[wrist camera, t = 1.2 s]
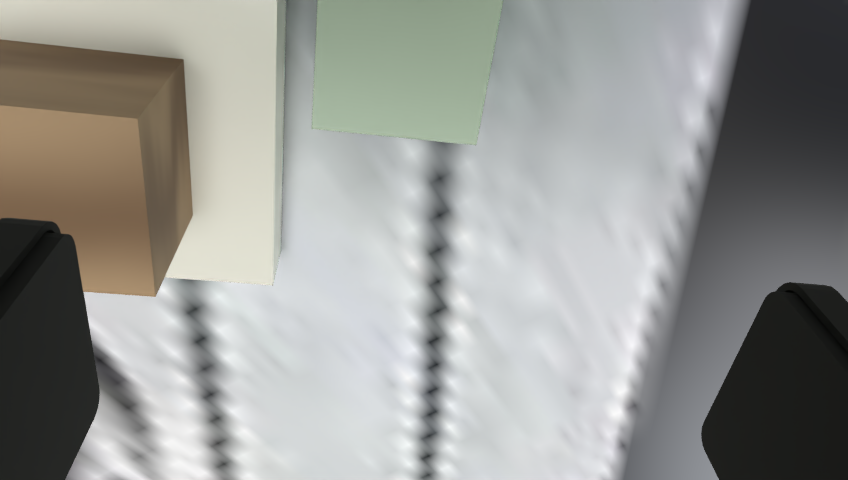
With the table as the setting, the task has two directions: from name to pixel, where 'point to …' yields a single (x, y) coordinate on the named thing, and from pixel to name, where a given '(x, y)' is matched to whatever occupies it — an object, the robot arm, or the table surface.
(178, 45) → the base slab
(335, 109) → the sage block
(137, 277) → the walnut block
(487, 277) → the table surface
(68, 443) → the robot arm
